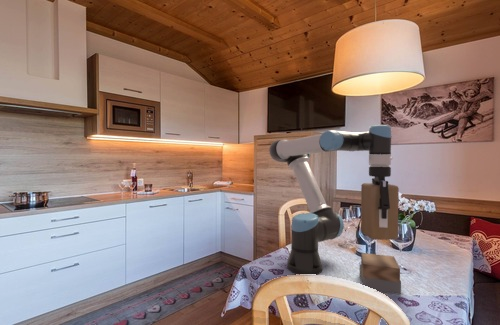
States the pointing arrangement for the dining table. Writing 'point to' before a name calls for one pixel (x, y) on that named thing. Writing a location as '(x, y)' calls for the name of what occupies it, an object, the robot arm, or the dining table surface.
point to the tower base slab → (381, 284)
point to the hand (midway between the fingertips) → (379, 223)
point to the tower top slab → (380, 267)
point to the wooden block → (371, 212)
